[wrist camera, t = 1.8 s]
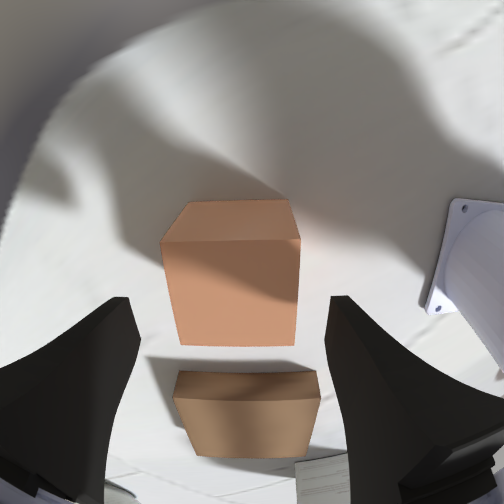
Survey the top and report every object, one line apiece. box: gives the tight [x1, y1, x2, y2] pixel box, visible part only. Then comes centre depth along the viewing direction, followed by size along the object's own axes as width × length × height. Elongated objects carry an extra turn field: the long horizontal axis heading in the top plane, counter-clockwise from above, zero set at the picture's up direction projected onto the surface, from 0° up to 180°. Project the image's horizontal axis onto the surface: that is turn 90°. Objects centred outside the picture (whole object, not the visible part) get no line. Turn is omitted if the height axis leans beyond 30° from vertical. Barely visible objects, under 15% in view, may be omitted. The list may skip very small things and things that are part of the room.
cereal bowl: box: [76, 483, 141, 504], centre depth 37 cm, size 17×17×7 cm
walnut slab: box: [172, 371, 321, 458], centre depth 21 cm, size 10×10×3 cm
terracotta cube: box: [160, 199, 301, 347], centre depth 14 cm, size 5×5×5 cm
